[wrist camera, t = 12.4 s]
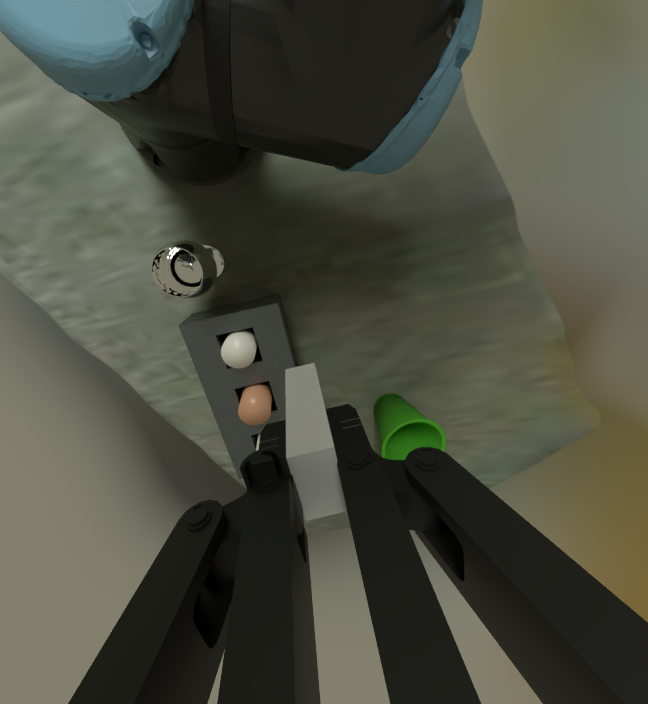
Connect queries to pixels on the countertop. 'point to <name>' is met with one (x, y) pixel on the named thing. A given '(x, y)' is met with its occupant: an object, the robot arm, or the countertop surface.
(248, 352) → the white plug
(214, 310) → the grey socket block
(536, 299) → the countertop surface
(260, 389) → the plug terracotta
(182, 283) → the wineglass
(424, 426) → the cup
